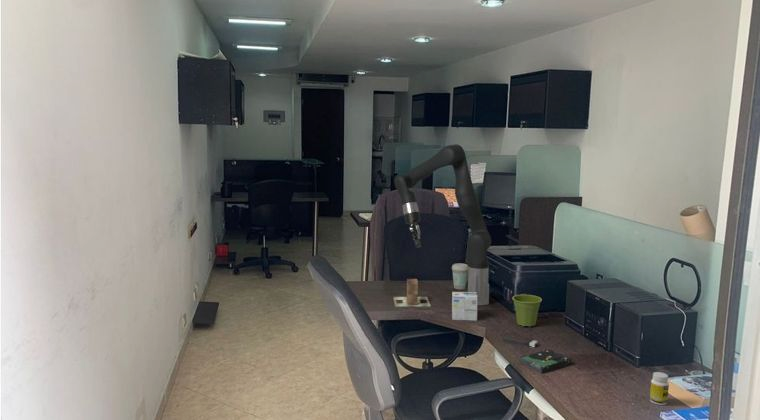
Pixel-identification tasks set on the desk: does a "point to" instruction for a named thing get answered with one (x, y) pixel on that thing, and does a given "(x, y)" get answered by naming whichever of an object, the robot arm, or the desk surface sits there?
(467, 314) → the light bulb box
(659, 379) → the supplement bottle
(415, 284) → the walnut block
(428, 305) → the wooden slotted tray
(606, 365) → the desk surface
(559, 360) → the disk drive
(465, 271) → the coffee cup
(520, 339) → the usb drive
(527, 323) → the plant pot
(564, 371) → the desk surface
